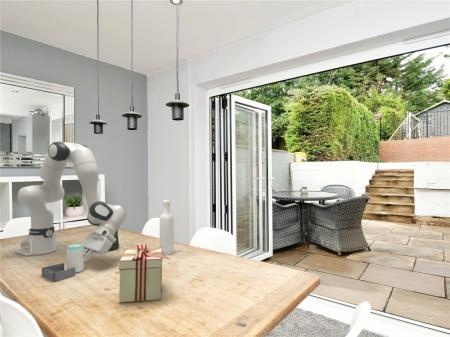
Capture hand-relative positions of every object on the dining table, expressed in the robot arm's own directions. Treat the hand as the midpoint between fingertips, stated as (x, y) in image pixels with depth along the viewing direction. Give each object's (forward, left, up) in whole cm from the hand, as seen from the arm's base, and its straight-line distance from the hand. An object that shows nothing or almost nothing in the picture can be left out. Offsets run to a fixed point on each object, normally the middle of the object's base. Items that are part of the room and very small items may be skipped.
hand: (83, 258), depth 134 cm
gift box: (+44, -10, -5) cm, 46 cm away
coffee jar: (-14, +30, -5) cm, 34 cm away
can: (-1, -4, -5) cm, 7 cm away
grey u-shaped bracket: (-3, -10, -5) cm, 12 cm away
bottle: (+22, +36, -5) cm, 43 cm away
